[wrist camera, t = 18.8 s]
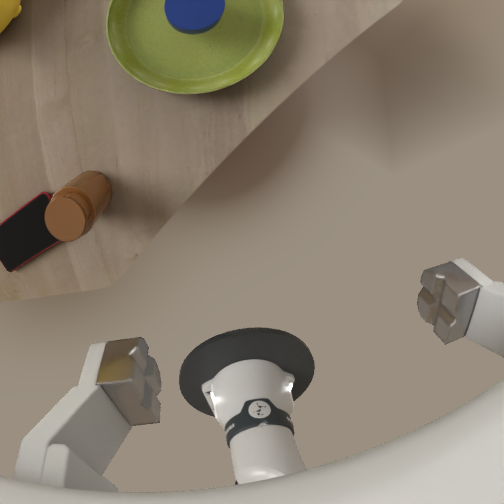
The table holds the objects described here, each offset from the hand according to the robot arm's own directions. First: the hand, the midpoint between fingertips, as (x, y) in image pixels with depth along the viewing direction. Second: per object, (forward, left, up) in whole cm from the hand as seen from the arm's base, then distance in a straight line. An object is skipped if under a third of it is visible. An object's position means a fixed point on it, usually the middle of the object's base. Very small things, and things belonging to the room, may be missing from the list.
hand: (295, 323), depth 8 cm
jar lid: (+17, +3, -29) cm, 33 cm away
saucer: (+17, +3, -34) cm, 38 cm away
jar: (-5, +17, -34) cm, 38 cm away
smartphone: (-10, +29, -34) cm, 46 cm away
